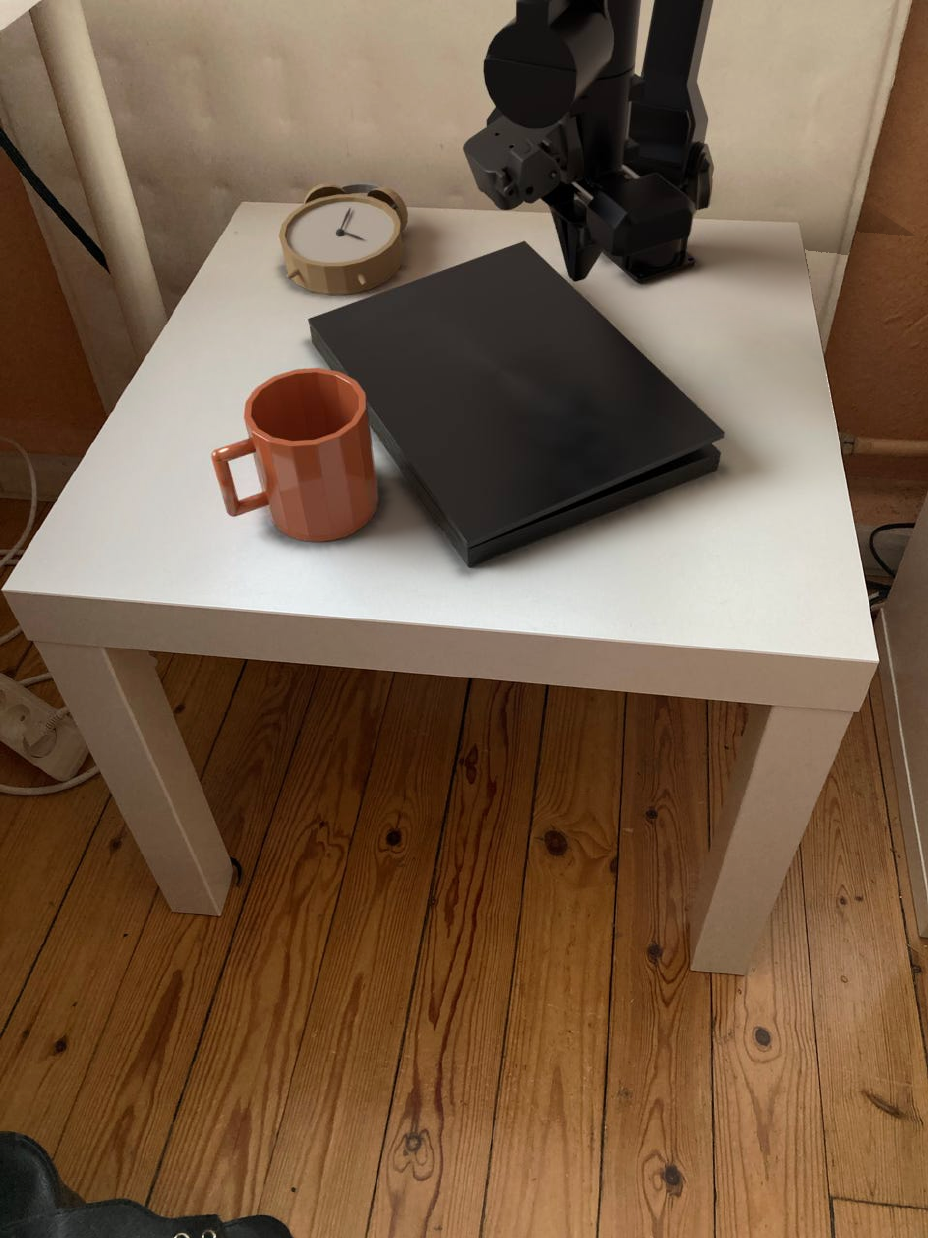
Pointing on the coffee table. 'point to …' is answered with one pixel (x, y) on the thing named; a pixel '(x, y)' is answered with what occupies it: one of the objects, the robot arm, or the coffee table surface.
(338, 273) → the alarm clock
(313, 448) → the mug
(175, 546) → the coffee table surface
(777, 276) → the coffee table surface
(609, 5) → the robot arm
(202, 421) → the coffee table surface
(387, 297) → the laptop screen
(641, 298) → the coffee table surface
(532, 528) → the laptop
